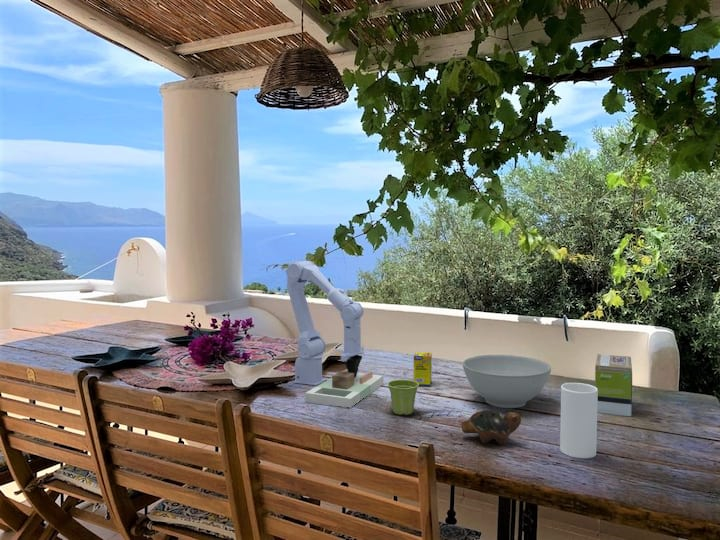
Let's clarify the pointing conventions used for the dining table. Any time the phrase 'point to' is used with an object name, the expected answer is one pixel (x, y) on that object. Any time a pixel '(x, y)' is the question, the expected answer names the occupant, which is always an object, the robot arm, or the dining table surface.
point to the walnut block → (343, 380)
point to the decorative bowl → (506, 378)
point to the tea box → (614, 384)
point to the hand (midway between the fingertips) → (352, 377)
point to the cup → (578, 420)
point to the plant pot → (403, 395)
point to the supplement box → (422, 368)
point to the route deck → (344, 391)
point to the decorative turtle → (492, 425)
